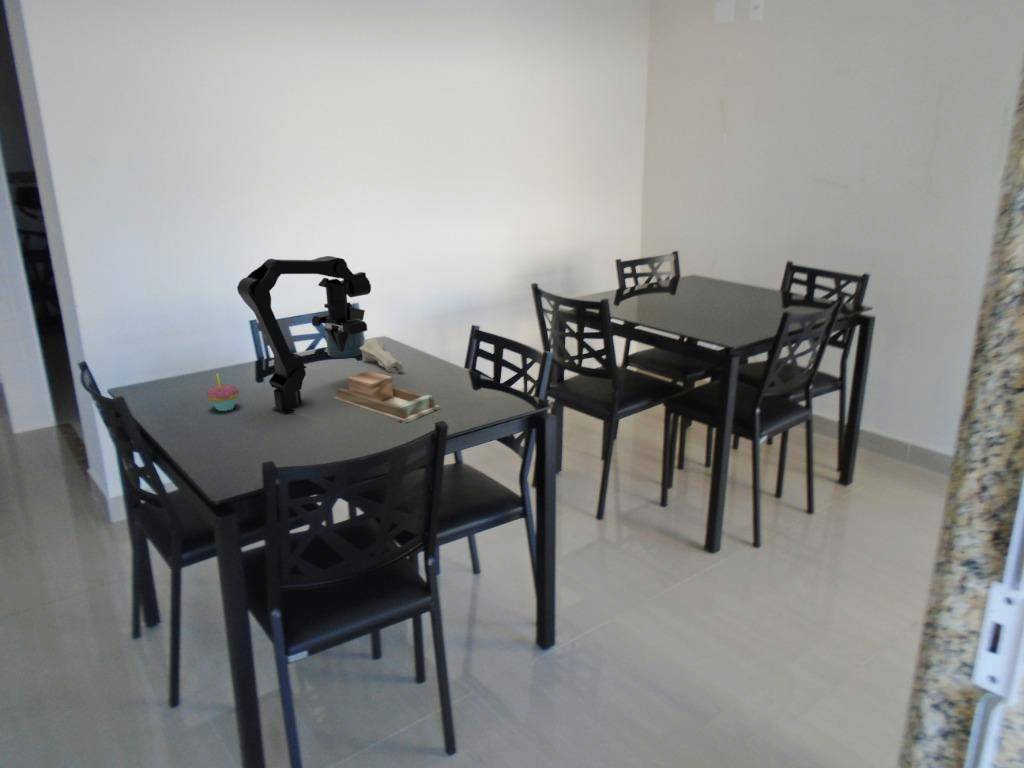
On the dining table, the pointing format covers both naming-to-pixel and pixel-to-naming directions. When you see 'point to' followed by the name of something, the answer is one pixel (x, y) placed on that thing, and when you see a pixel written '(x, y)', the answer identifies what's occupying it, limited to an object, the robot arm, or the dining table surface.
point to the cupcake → (223, 396)
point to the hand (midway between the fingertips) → (341, 351)
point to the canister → (350, 348)
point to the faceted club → (380, 355)
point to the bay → (393, 403)
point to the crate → (372, 385)
